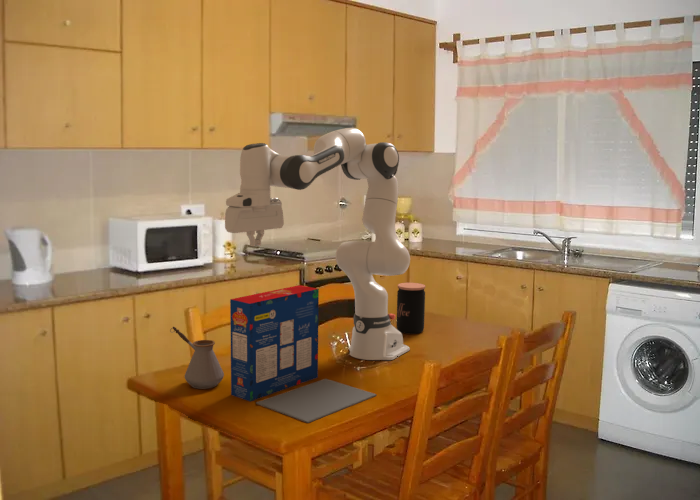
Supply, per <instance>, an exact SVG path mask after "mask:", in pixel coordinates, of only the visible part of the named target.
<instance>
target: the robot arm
mask: <svg viewBox="0 0 700 500" xmlns="http://www.w3.org/2000/svg"><path fill="white" fill-rule="evenodd" d="M366 142H367V140H366V136H365V135H364V134H363V132H362V131H361V130H359V129H358V128H355V127H346V128H340V129H336V130H333V131H330V132H328V133H325V134H323V135H321V136H320V137H318V138H317V139H316V140H315V142H314V145H313V153H314V154H312V155H305V154H295V155H293V154H291V155H290V154H280V153H278V152H275V151H274V150H273V149H271V148H270V147H269V144H267V143H263V142H259V143H257V142H256V143H250V144H247V145H245V146H243V148H242V149H241V152H240V157H239V158H240V159H239V176H240V179H241V180H240V181H241V182H240V188H239V192H238V193H236V194H234V195H232V196H230V197H228V198H226V200H225V204H226V205H225V206H227V208H226V210H225V213H224V214H225V215H224V228H225V230H226V232H228V233H230V234H238V233H239V234H240V233H246V236H247V238H248V240H249V246H251V247H257V246H261V245H262V239H263V237H264V235H265V231H266V230H273V229H274V230H275V229H276V230H277V229H281V228H283V226H284V224H285V223H284V219H285V218H284V212H283V204H282V201H281V200H280V199H279V198H278V197H271V187H276V188H288V189H293V190H299V191H301V190H305V189H307V188H308V187H310V185H312V183H313V182H314V181H315V180H316V179H317V178H318V177H320V176H321V175H323V174H326V173H327V172H329V171H331V170H332V169H333V170H334V169H335V168H337V167H338V166H340V167H341V170H342V172H343V174H344V175H345V177H346V178H347V179H350V180H355V181H356V180H367V185H368V187H367V190H366V194H365V200H364V206H363V207H364V208H363V210H362V211H363V212H362V218H361V221H362V225H363V227H365V229H366V230H368V231H369V232H371V233H372V234H374V235H375V236H374V237H375V240H374V241H368V240H367V241H365V240H350V241H343V242H341V243H340V244H339V246H337V249H336V252H335V261H336V264H337V266H338V268H339V269H340V270H341V271H343V273H344V274H345V275H346V276H347V277H348V280H349V281H350V282H351V285H352V288H353V292H354V307H355V309H354V311H355V313H353V318H352V319H353V325H354V326H353V327H352V331H351V341H350V345H349V346H348V350H349V355H350V356H351V357H353V358H355V359H359V360H367V361H380V360H381V361H391V360H392V361H393V360H394V359H396V358H398V357H400V356H402V355H403V354H405V353H407V352H409V351H410V349H411V348H410V347H409V345H406V344H405V343H404V338H403V333H401V332H400V331H398V329H397V327H395V326H394V325H392V324H391V323H392V322H391V320H392V321H394V320H395V319H397V314H395V313H389V311H388V309H389V307H388V306H389V294H388V292H387V290H386V288H385V287H384V286H382V285H380V284H379V283H378V282H376V280H375V278H374V275H377V276H387V277H388V276H389V277H390V276H399V275H404V274H405V273H406V272H407V271H408V269H409V266H410V265H411V255H410V251H409V250H408V248H407V247H406V246H405V245H404V244H402V241H400V239H399V238H398V234H397V231H396V218H397V217H396V215H397V208H398V201H399V200H398V199H399V182H398V178H397V177H396V174H397V172H398V167H399V162H400V155H399V151H398V150H397V148H396V146H395V145H394V144H392V143H390V142H387V141H385V142H384V141H383V142H378V143H369V144H367V143H366ZM254 235H256V238H255V236H254ZM397 356H398V357H397Z"/></svg>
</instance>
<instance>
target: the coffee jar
mask: <svg viewBox="0 0 700 500" xmlns="http://www.w3.org/2000/svg"><path fill="white" fill-rule="evenodd" d="M397 289H398V290H397V292H396V293H397V295H396V296H397V297H396V327H395V328H396V329H397V330H398V331H400V332H401V334H407V335H416V334H420V333H421V334H422V333H423V331H424V330H425V313H426V312H425V311H426V308H425V307H426V291H425V289H426V285H425V284H422V283H420V282H419V283H418V282H402V283H398V284H397Z"/></svg>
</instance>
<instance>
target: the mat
mask: <svg viewBox="0 0 700 500" xmlns="http://www.w3.org/2000/svg"><path fill="white" fill-rule="evenodd" d="M374 397H377V394H376V393H374V392H370V391H367V390H364V389H361V388H357V387H353V386H350V385H348V384H344V383H341V382H339V381H335V380H331V379H328V378H323V379H321V380H318V381H315V382H311V383H310V384H309V383H308V384H306V385H303V386H299V387H297V388H294V389H291V390H289V391H286V392H283V393H280V394H277V395H274V396H271V397H268V398H265V399H263V400H259V401H256V402H255V404H256V405H257V406H260V407H263V408H266V409H269V410H271V411H275V412H277V413H280V414H283V415H286V416H288V417H290V418H293V419H296V420H298V421H300V422H301V421H302V422H304V423H306V424H309V423H311V422H314V421H317V420H319V419H322V418H324V417H327V416H329V415H331V414H334V413H337V412H340V411H342V410H344V409H347V408H350V407H352V406H354V405H357V404H359V403H361V402H364V401H367V400H369V399H371V398H374Z"/></svg>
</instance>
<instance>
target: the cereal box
mask: <svg viewBox="0 0 700 500" xmlns="http://www.w3.org/2000/svg"><path fill="white" fill-rule="evenodd" d="M319 293H320V291H319V288H317V287H311V286H306V285H301V284H299V285H293V286H289V287H284V288H280V289H273V290H270V291H264V292H260V293H253V294H250V295H245V296H241V297H235V298H230V300H229V304H230V309H229V310H230V315H229V316H230V317H229V319H230V395H231V396H233V397H236V398H239V399H242V400H245V401H246V402H247V401H248V402H253V401H256V400H259V399H261V398H264V397H267V396H270V395H272V394H276V393H278V392H280V391H284V390H287V389H289V388H293V387H295V386H298V385H300V384H303V383H306V382H309V381H312V380H315V379H318V377H319V299H320V298H319V296H320V295H319Z"/></svg>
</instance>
